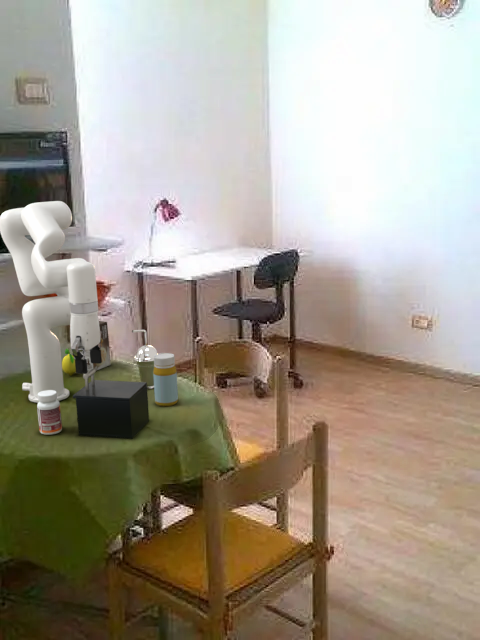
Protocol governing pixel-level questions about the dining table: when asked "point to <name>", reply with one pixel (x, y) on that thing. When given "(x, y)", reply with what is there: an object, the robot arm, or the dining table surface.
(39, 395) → the pill bottle
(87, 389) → the bin lid
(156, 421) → the dining table surface
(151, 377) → the cup with straw
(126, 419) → the waste bin
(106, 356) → the coffee box
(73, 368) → the lemon
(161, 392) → the bottle
